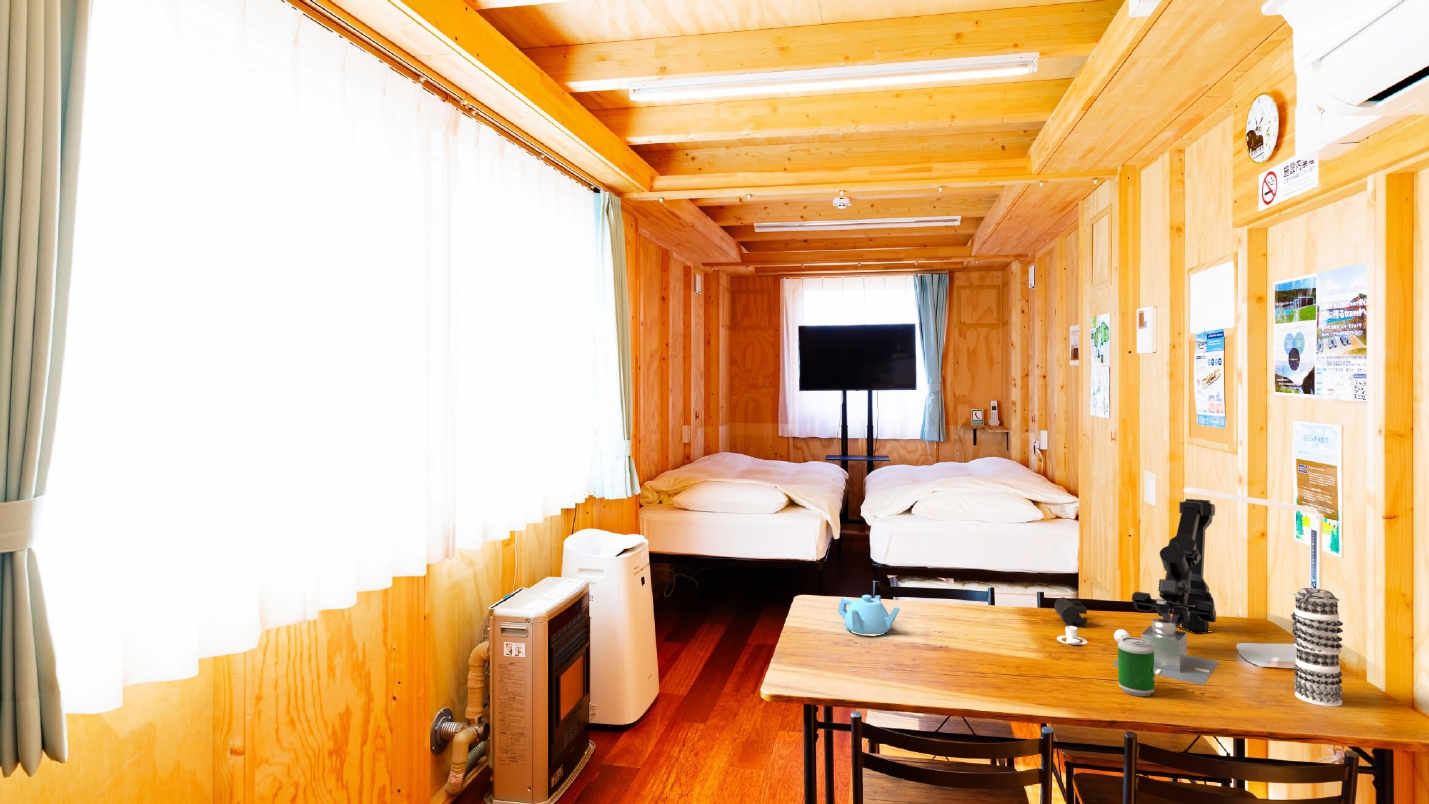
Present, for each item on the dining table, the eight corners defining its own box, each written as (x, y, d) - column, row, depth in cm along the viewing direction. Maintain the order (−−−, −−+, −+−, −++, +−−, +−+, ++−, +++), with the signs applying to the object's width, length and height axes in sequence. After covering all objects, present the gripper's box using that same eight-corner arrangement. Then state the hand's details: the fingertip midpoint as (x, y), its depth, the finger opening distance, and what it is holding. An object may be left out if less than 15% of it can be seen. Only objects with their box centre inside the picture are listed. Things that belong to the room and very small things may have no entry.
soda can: (1154, 700, 168) (1153, 648, 167) (1117, 693, 172) (1116, 643, 171) (1155, 688, 174) (1154, 639, 174) (1119, 682, 178) (1118, 634, 178)
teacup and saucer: (1079, 649, 203) (1079, 634, 203) (1050, 642, 209) (1050, 628, 209) (1092, 641, 209) (1091, 627, 208) (1063, 635, 214) (1063, 621, 214)
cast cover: (1150, 655, 193) (1149, 614, 193) (1187, 663, 187) (1186, 620, 187) (1142, 664, 187) (1141, 621, 186) (1180, 672, 181) (1179, 628, 181)
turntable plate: (1132, 648, 201) (1131, 612, 201) (1218, 665, 187) (1218, 626, 187) (1112, 669, 187) (1111, 630, 187) (1203, 689, 173) (1203, 647, 173)
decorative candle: (1296, 702, 165) (1293, 593, 164) (1289, 687, 172) (1287, 583, 172) (1348, 710, 160) (1346, 598, 160) (1339, 695, 168) (1337, 588, 168)
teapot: (881, 621, 231) (881, 587, 231) (901, 636, 216) (901, 600, 216) (836, 624, 228) (835, 591, 228) (853, 640, 214) (852, 604, 214)
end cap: (1054, 617, 230) (1053, 596, 230) (1078, 618, 229) (1077, 597, 229) (1062, 627, 221) (1061, 605, 221) (1087, 628, 219) (1087, 606, 219)
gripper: (1132, 562, 200) (1122, 611, 192) (1213, 572, 188) (1205, 625, 180) (1140, 584, 206) (1131, 633, 198) (1219, 595, 193) (1212, 648, 185)
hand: (1168, 634), depth 190 cm, fingers closed
